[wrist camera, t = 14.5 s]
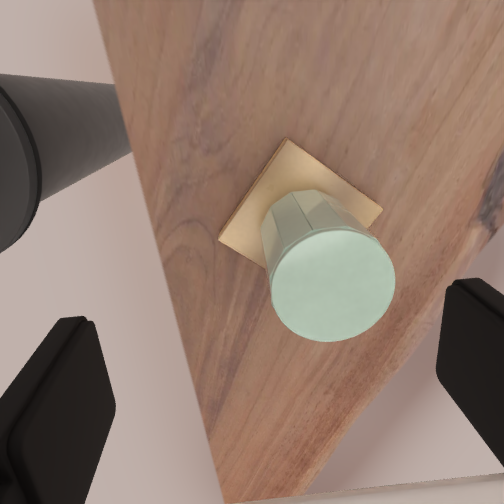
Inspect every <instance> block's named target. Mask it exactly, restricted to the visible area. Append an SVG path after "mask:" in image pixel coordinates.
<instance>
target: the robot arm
mask: <svg viewBox="0 0 504 504" xmlns="http://www.w3.org/2000/svg"><path fill="white" fill-rule="evenodd" d="M436 374H437V377H438V379H439V381H440V383H441V384H442V385H443V387H444V388H445V389H446V391H447V392H448V393H449V395H450V396H451V397H452V399H453V400H454V401H455V403H456V404H457V405H458V407H459V408H460V409H461V411H462V412H463V413H464V414H465V416H466V417H467V419H468V420H469V421H470V423H471V424H472V425H473V427H474V428H475V429H476V431H477V432H478V433H479V435H480V436H481V437H482V439H483V440H484V441H485V443H486V444H487V445H488V447H489V448H490V449H491V451H492V452H493V453H494V455H495V456H496V457H497V459H498V460H499V461H500V463H501V464H502V465H503V467H504V295H503V294H501V293H500V292H499V291H497V290H496V289H494V288H493V287H491V286H490V285H489V284H487V283H486V282H485V281H483V280H482V279H480V278H469V279H458V280H455V281H453V283H452V285H451V286H448V287H447V289H446V293H445V301H444V309H443V316H442V324H441V332H440V340H439V347H438V355H437V362H436ZM115 410H116V403H115V398H114V395H113V391H112V387H111V383H110V380H109V376H108V372H107V368H106V365H105V361H104V357H103V353H102V350H101V346H100V342H99V339H98V335H97V331H96V327H95V324H94V322H93V321H87V319H86V317H84V316H77V317H68V318H60V319H59V320H58V321H57V322H56V324H55V325H54V326H53V328H52V329H51V330H50V332H49V333H48V334H47V336H46V337H45V338H44V340H43V341H42V343H41V344H40V345H39V347H38V348H37V349H36V351H35V352H34V353H33V355H32V356H31V357H30V359H29V360H28V361H27V363H26V364H25V366H24V367H23V368H22V370H21V371H20V372H19V374H18V375H17V376H16V378H15V379H14V380H13V382H12V383H11V385H10V386H9V387H8V389H7V390H6V391H5V393H4V394H3V395H2V397H1V398H0V504H85V500H86V498H87V495H88V492H89V489H90V486H91V483H92V480H93V477H94V474H95V471H96V469H97V465H98V463H99V460H100V457H101V454H102V451H103V448H104V445H105V442H106V440H107V436H108V433H109V431H110V428H111V425H112V422H113V419H114V416H115ZM231 504H504V473H499V474H489V475H480V476H472V477H461V478H452V479H443V480H434V481H424V482H415V483H406V484H397V485H388V486H380V487H370V488H362V489H353V490H344V491H335V492H326V493H317V494H309V495H300V496H291V497H283V498H274V499H265V500H256V501H248V502H240V503H231Z"/></svg>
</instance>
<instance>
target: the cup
mask: <svg viewBox="0 0 504 504" xmlns="http://www.w3.org/2000/svg"><path fill="white" fill-rule="evenodd" d="M260 232H261V243H262V251H263V257H264V263H265V269H266V274H267V280H268V286H269V292H270V298H271V303H272V306H273V308H274V309H275V311H276V313H277V315H278V317H279V318H280V320H281V321H282V322H283V323H284V324H285V325H286V327H288V328H289V329H290V330H291V331H293V332H294V333H296V334H298V335H300V336H302V337H304V338H307V339H310V340H314V341H321V342H334V341H341V340H345V339H349V338H351V337H354V336H357V335H359V334H360V333H362V332H364V331H366V330H367V329H369V328H370V327H371V326H373V325H374V324H375V323H376V322H377V321H378V320H379V319H380V318H381V317H382V315H383V314H384V313H385V311H386V310H387V308H388V306H389V305H390V302H391V300H392V297H393V294H394V289H395V272H394V267H393V264H392V262H391V260H390V258H389V256H388V254H387V253H386V251H385V250H384V249H383V248H382V246H381V245H380V243H379V242H378V240H377V239H376V238H375V237H374V236H373V235H372V234H371V233H370V232H369V231H368V230H367V229H366V228H365V227H364V226H363V225H362V224H361V223H360V222H359V221H358V220H357V219H356V218H355V217H354V216H353V215H352V214H351V213H350V212H349V211H348V210H347V209H346V208H345V207H344V206H343V205H342V204H341V203H340V202H339V201H338V200H337V199H336V198H334V197H331V196H329V195H327V194H325V193H323V192H320V191H318V190H315V189H314V190H304V191H295V192H290V193H289V194H287V195H286V196H284V197H283V198H282V199H280V200H279V201H277V202H276V203H274V204H273V205H272V206H271V207H270V208H269V210H268V212H267V214H266V216H265V219H264V221H263V223H262V225H261V227H260Z"/></svg>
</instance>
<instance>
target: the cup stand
mask: <svg viewBox="0 0 504 504" xmlns="http://www.w3.org/2000/svg"><path fill="white" fill-rule="evenodd" d="M314 189H315V190H318V191H320V192H323V193H325V194H327V195H329V196H331V197H334V198H336V199H337V200H338V201H339V202H340V203H341V204H342V205H343V206H344V207H345V208H346V209H347V210H348V211H349V212H350V213H351V214H352V215H353V216H354V217H355V218H356V219H357V220H358V221H359V222H360V223H361V224H362V225H363V226H364V227H365V228H366V229H367V228H368V227H369V226H370V225H371V224H372V222H373V221H374V220H375V219H376V218H377V216H378V215H379V214H380V213H381V212H382V210H383V208H382V207H381V206H379V205H378V204H377V203H375V202H374V201H373V200H371V199H370V198H368V197H367V196H366V195H364V194H363V193H362V192H360V191H359V190H358V189H356V188H355V187H353V186H352V185H351V184H349V183H348V182H347V181H345V180H344V179H342V178H341V177H340V176H338V175H337V174H336V173H334V172H333V171H332V170H330V169H329V168H327V167H326V166H325V165H323V164H322V163H321V162H319V161H318V160H317V159H315V158H314V157H312V156H311V155H310V154H308V153H307V152H306V151H304V150H303V149H301V148H300V147H299V146H297V145H296V144H295V143H293V142H292V141H291V140H289V139H288V138H285V139H284V140H283V142H282V143H281V145H280V146H279V148H278V149H277V150H276V152H275V153H274V155H273V156H272V158H271V159H270V161H269V162H268V163H267V165H266V166H265V168H264V169H263V171H262V172H261V174H260V175H259V176H258V178H257V179H256V181H255V182H254V184H253V185H252V187H251V188H250V189H249V191H248V192H247V194H246V195H245V197H244V198H243V200H242V201H241V203H240V204H239V205H238V207H237V208H236V210H235V211H234V213H233V214H232V216H231V217H230V218H229V220H228V221H227V223H226V224H225V226H224V227H223V229H222V230H221V231H220V233H219V236H218V240H219V241H221V242H222V243H224V244H225V245H227V246H229V247H230V248H232V249H233V250H235V251H237V252H238V253H240V254H242V255H243V256H245V257H246V258H248V259H250V260H251V261H253V262H254V263H256V264H258V265H259V266H261V267H263V268H264V269H265V263H264V257H263V251H262V243H261V232H260V227H261V225H262V223H263V221H264V219H265V216H266V214H267V212H268V210H269V208H270V207H271V206H272V205H273V204H274V203H276V202H277V201H279V200H280V199H282V198H283V197H284V196H286V195H287V194H289V193H290V192H295V191H304V190H314Z"/></svg>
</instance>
